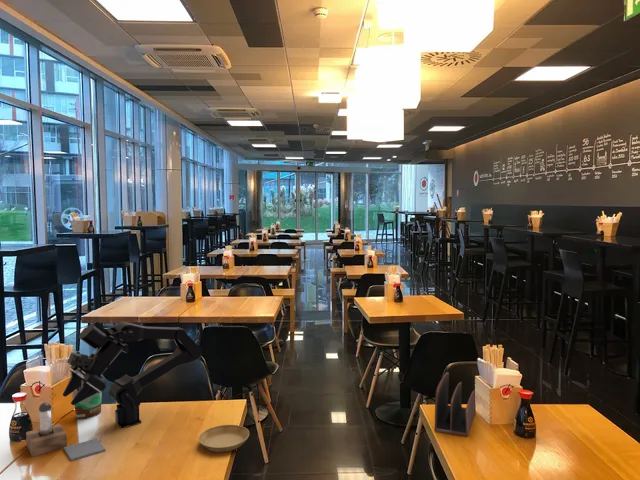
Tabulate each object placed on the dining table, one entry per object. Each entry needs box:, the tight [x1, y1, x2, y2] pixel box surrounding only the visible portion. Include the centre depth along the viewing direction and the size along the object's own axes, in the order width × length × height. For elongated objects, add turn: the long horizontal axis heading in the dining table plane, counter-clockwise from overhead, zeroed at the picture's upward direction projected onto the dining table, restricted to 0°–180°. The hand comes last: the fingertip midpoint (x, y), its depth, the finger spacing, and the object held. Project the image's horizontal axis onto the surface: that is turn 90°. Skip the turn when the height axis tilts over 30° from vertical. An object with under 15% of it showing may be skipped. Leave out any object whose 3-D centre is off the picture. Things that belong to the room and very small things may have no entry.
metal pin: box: [38, 401, 53, 437], centre depth 146 cm, size 3×3×13 cm
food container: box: [71, 390, 103, 420], centre depth 169 cm, size 12×6×10 cm, turn 168°
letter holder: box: [433, 371, 477, 437], centre depth 159 cm, size 10×20×14 cm, turn 155°
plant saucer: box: [198, 424, 250, 453], centre depth 146 cm, size 15×15×3 cm
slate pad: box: [63, 438, 106, 462], centre depth 143 cm, size 9×9×1 cm
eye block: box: [25, 423, 68, 458], centre depth 146 cm, size 9×9×4 cm
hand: (67, 400), depth 149 cm, fingers open, 9 cm apart
